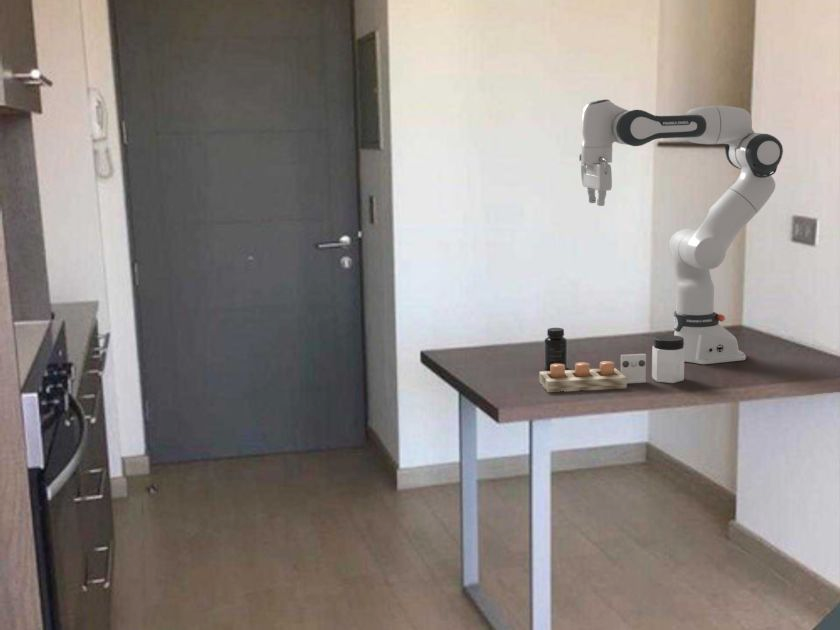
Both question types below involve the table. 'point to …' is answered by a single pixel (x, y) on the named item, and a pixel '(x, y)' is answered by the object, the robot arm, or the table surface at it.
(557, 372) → the button
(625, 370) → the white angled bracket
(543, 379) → the wooden egg tray
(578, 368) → the button mid
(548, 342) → the supplement bottle
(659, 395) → the table surface
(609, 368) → the button
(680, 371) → the jar
